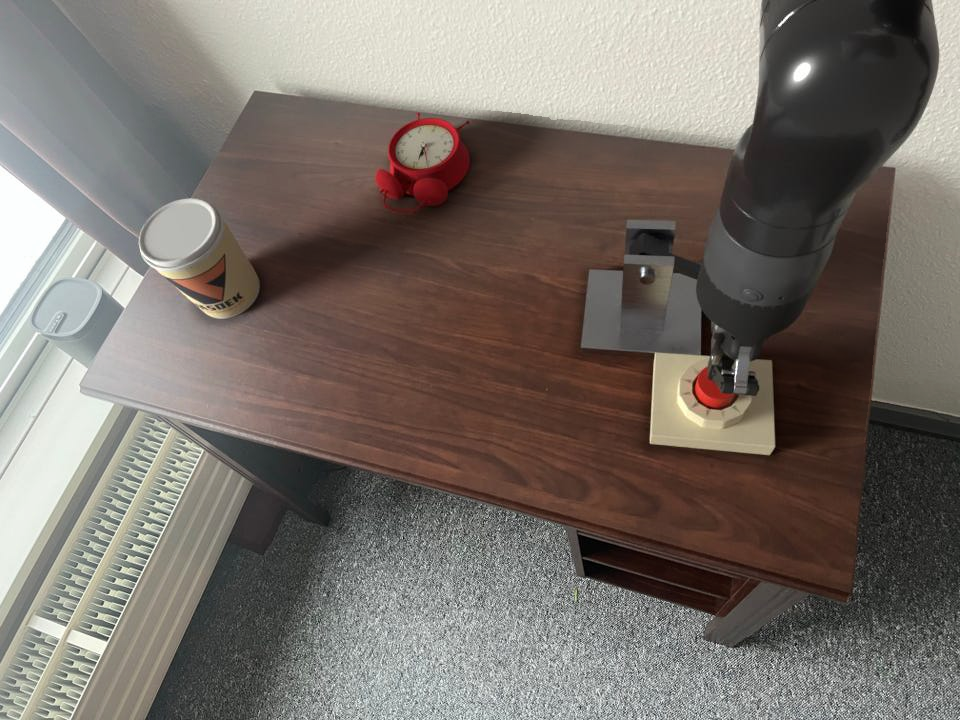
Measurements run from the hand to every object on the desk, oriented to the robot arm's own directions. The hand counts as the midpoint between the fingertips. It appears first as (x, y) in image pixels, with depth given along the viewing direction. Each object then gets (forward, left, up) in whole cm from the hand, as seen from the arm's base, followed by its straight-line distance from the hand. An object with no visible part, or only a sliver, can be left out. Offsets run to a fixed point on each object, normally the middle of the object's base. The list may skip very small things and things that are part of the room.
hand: (719, 373), depth 60 cm
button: (0, 0, -4) cm, 4 cm away
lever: (+3, -10, 0) cm, 10 cm away
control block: (0, 0, -7) cm, 7 cm away
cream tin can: (+56, -10, -7) cm, 57 cm away
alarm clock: (+35, -29, -7) cm, 46 cm away
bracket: (+7, -10, -7) cm, 14 cm away
